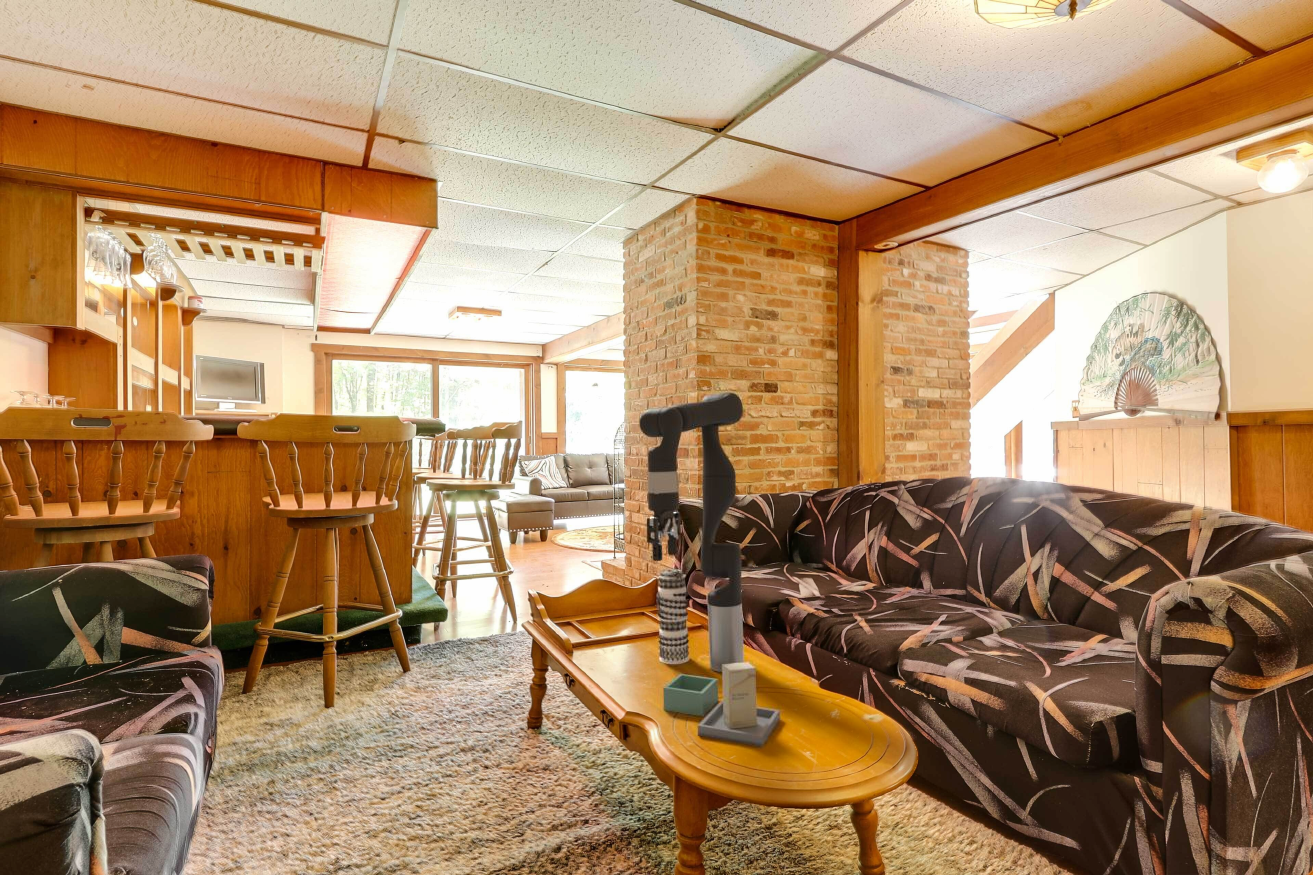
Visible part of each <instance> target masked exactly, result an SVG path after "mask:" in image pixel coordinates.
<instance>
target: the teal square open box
mask: <svg viewBox="0 0 1313 875" xmlns="http://www.w3.org/2000/svg"><path fill="white" fill-rule="evenodd" d="M662 692H663V711H668V712H675V713H680V714H686V715H691V716H692V715H693V716H698V717H704V716H706V715H707V713H709V712H710V710H711V709H713V707H715V706H716V705H717V704H718V703H719V679H718V678H714V677H707V676H706V677H705V676H700V675H691V674H686V673H685V674H684V673H679V674H678V675H676V677H675V678H673V679H671V681H669V682H668V683H667V684H666V685H665V686H664V687H663V690H662Z"/></svg>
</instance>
